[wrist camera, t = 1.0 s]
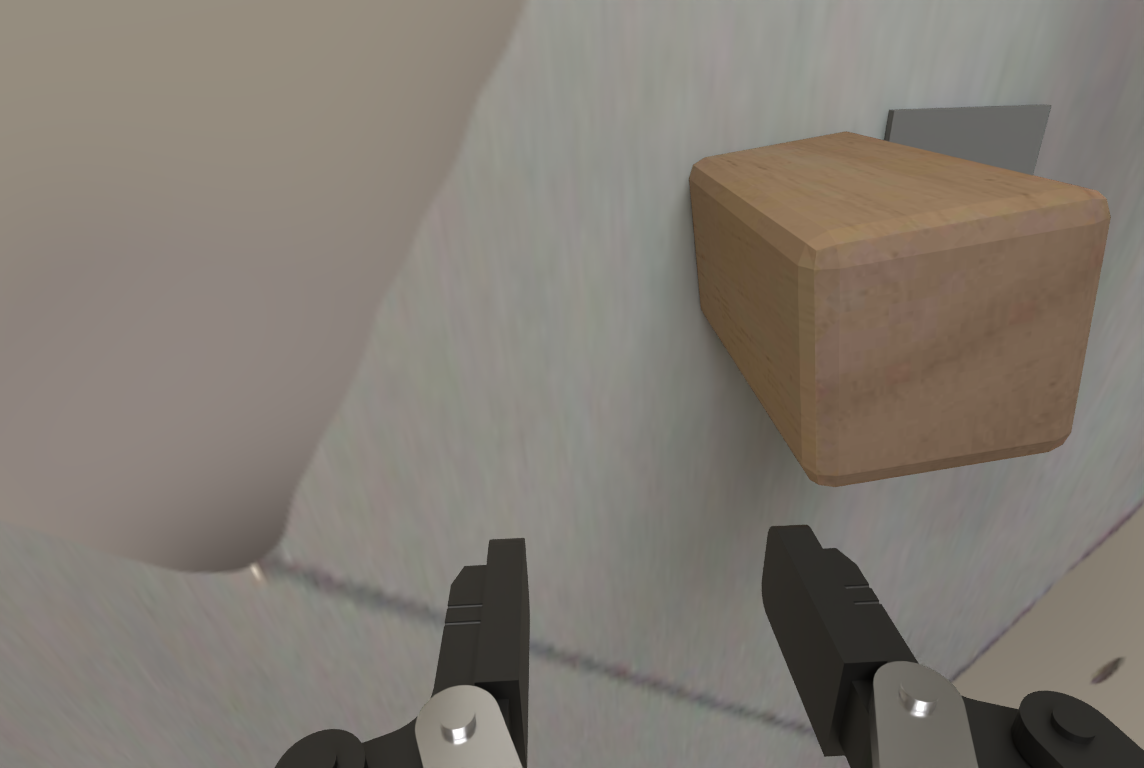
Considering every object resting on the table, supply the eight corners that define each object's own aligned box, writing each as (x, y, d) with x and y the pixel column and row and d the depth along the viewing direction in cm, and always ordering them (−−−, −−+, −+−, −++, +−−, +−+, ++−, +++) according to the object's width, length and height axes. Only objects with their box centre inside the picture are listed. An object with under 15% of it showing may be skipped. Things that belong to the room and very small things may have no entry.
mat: (1044, 104, 38) (1051, 105, 38) (988, 318, 44) (994, 321, 43) (889, 109, 38) (894, 110, 38) (853, 323, 44) (857, 327, 43)
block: (853, 290, 43) (1080, 457, 25) (698, 318, 43) (812, 502, 25) (856, 126, 38) (1133, 185, 20) (684, 158, 39) (807, 243, 21)
